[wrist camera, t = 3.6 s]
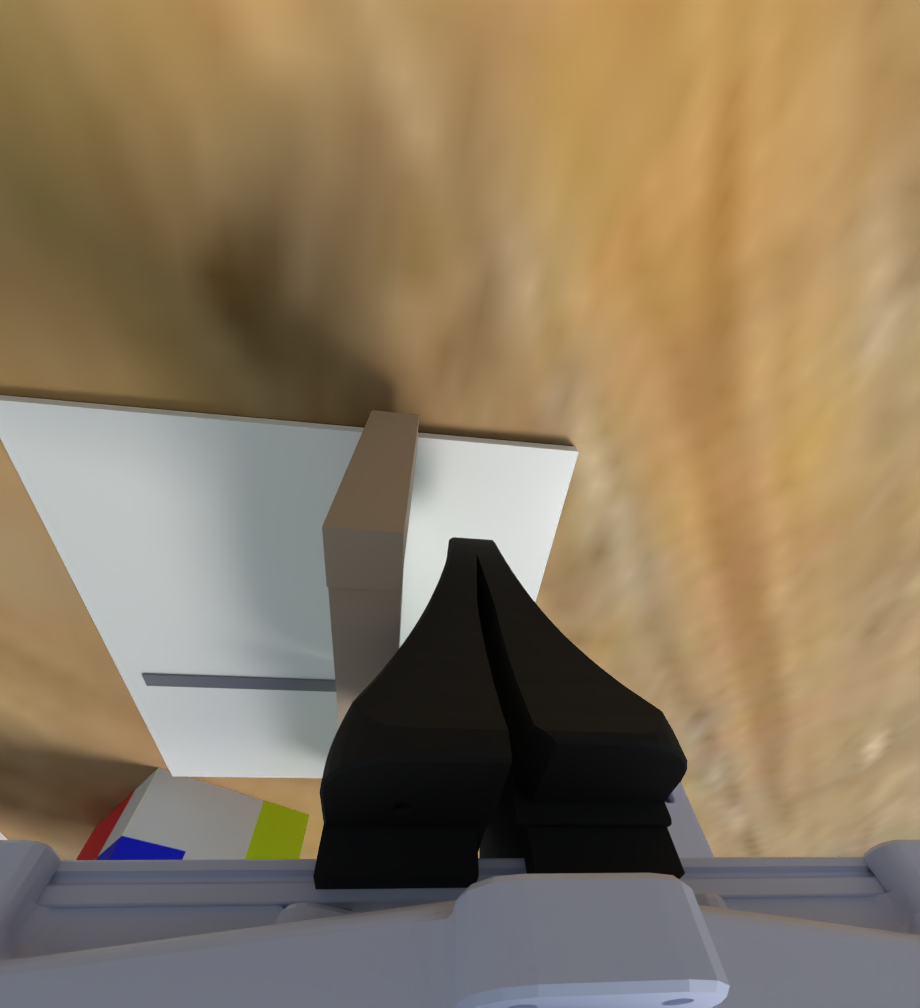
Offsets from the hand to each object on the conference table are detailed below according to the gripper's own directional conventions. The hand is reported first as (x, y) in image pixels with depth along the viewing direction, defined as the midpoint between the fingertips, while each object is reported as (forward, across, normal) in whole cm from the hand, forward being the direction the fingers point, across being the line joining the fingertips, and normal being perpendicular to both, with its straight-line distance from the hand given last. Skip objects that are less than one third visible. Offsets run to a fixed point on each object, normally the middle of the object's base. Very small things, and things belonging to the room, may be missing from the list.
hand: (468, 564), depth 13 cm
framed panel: (+2, +3, +2) cm, 4 cm away
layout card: (+3, +6, +8) cm, 10 cm away
